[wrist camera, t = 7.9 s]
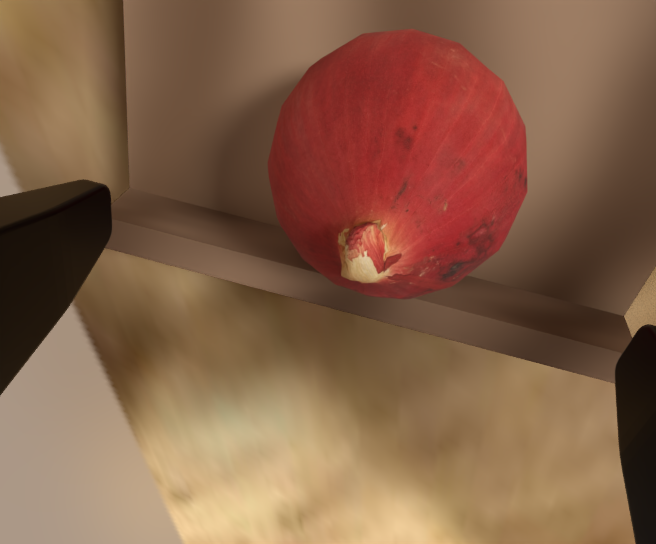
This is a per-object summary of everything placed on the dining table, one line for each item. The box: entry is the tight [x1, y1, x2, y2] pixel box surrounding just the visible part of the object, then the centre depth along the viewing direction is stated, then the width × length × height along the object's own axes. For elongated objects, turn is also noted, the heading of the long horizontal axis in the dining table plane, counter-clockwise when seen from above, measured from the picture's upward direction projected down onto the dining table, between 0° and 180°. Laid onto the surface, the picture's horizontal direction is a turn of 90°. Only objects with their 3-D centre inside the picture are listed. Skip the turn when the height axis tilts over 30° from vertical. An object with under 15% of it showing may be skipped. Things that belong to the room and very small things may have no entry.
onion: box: [268, 29, 528, 300], centre depth 13 cm, size 6×6×8 cm
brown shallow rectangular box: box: [105, 0, 656, 383], centre depth 17 cm, size 17×12×6 cm
